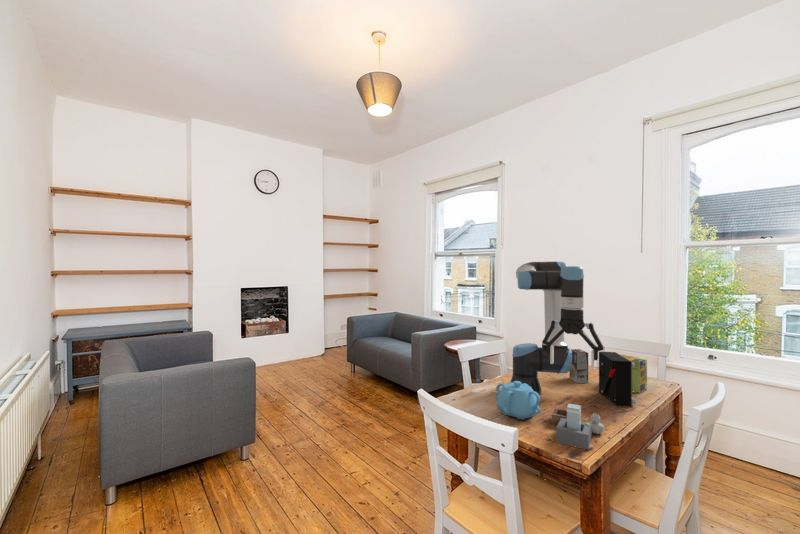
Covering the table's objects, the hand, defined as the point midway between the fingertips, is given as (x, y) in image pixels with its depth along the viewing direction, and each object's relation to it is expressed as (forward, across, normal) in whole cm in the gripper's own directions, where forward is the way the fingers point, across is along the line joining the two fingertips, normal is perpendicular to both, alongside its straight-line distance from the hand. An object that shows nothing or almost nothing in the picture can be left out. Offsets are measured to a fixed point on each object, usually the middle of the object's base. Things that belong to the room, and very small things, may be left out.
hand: (571, 366), depth 130 cm
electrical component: (+26, +12, +49) cm, 57 cm away
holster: (+25, -4, +8) cm, 27 cm away
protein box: (+27, +16, +71) cm, 78 cm away
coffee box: (+27, -6, +70) cm, 75 cm away
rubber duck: (+26, +7, +6) cm, 27 cm away
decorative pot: (+26, -22, +7) cm, 34 cm away
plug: (+25, +1, -5) cm, 26 cm away
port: (+25, +1, -5) cm, 25 cm away
